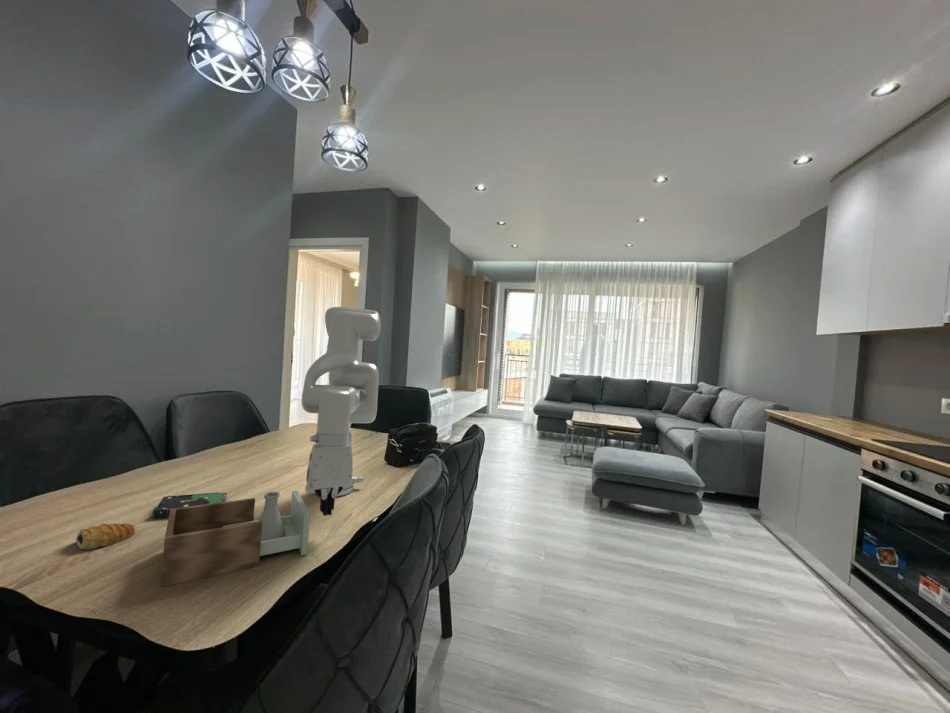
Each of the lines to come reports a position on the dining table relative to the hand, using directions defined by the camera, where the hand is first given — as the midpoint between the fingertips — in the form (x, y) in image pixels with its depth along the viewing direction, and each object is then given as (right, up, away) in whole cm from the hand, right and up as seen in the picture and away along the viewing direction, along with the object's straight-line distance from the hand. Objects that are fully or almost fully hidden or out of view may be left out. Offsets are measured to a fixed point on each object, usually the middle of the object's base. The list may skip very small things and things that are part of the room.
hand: (326, 513), depth 95 cm
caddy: (-19, -4, -13) cm, 24 cm away
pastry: (-46, -3, -10) cm, 47 cm away
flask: (-11, -3, -7) cm, 13 cm away
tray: (-11, -4, -8) cm, 14 cm away
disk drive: (-40, -3, +9) cm, 41 cm away
